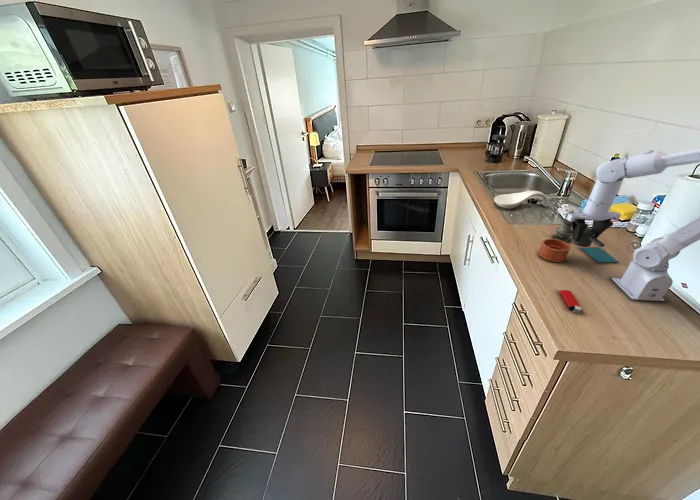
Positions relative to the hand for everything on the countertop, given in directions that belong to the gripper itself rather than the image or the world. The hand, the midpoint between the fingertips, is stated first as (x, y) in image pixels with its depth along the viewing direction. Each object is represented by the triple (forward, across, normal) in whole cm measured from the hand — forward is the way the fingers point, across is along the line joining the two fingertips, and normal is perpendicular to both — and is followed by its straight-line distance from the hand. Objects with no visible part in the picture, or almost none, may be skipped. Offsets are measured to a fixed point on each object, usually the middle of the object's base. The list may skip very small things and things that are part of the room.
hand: (583, 239), depth 93 cm
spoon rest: (+9, -3, -46) cm, 47 cm away
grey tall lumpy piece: (+9, -5, -15) cm, 18 cm away
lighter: (+9, +14, +20) cm, 26 cm away
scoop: (+1, 0, +3) cm, 3 cm away
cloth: (+8, -10, -3) cm, 13 cm away
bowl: (+8, +6, -3) cm, 11 cm away
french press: (+9, -21, -123) cm, 125 cm away
